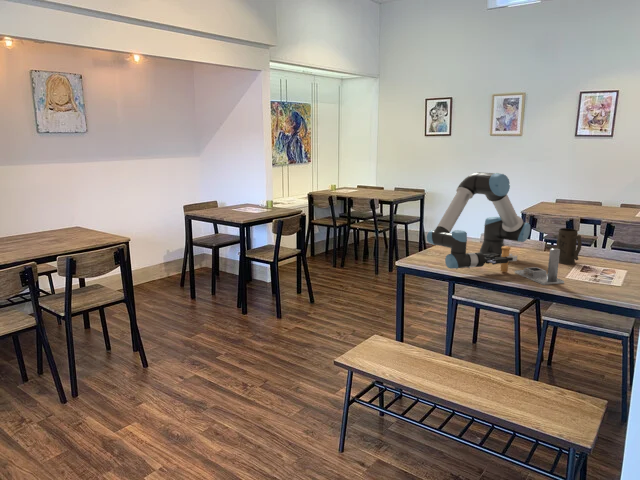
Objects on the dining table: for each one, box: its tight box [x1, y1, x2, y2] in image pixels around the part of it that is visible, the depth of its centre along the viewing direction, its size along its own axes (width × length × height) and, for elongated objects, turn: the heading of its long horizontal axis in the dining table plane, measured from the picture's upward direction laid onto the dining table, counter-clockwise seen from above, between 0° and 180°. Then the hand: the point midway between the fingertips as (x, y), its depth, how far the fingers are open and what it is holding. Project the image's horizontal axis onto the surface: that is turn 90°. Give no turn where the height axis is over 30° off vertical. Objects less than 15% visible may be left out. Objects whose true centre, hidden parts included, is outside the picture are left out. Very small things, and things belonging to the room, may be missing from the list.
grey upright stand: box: [514, 247, 565, 286], centre depth 237 cm, size 23×12×17 cm, turn 13°
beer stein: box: [555, 227, 583, 265], centre depth 266 cm, size 15×10×20 cm
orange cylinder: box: [500, 245, 511, 273], centre depth 247 cm, size 4×4×13 cm
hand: (514, 257), depth 248 cm, fingers closed on orange cylinder, 4 cm apart
